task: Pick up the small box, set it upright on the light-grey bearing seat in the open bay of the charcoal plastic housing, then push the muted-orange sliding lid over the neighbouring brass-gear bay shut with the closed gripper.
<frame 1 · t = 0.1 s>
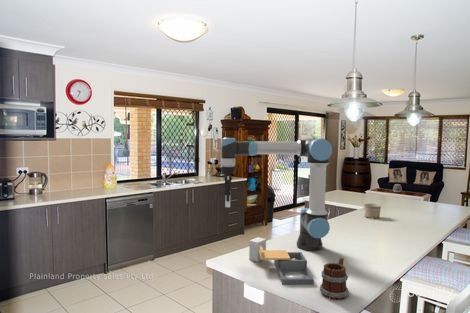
hand: (227, 204, 184), 28 cm above the kitchen island, fingers open, 13 cm apart
planter: (372, 217, 275), on the kitchen island
lid: (274, 252, 166), point 8 cm above the kitchen island, slide at 8.0 cm
small box: (257, 259, 179), on the kitchen island
mug: (334, 293, 141), on the kitchen island
housing: (292, 273, 160), on the kitchen island
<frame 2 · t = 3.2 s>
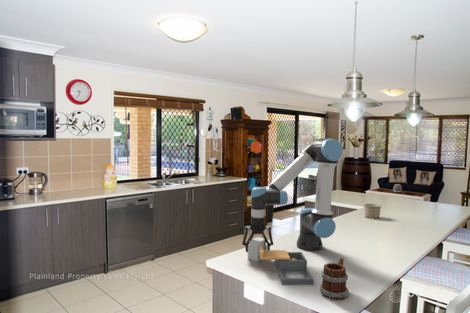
hand: (257, 257, 179), 1 cm above the kitchen island, fingers closed on small box, 9 cm apart
small box: (257, 259, 179), on the kitchen island, touching gripper
everything else where it was.
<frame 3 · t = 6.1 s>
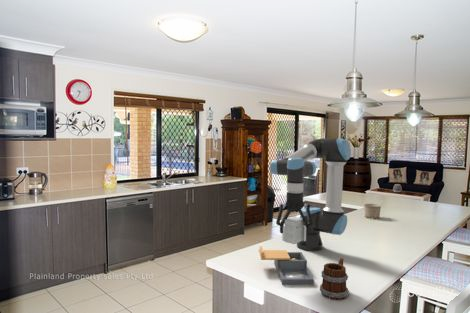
hand: (293, 240, 155), 18 cm above the kitchen island, fingers closed on small box, 9 cm apart
small box: (293, 241, 155), point 17 cm above the kitchen island, touching gripper
everything else where it was.
when the fingers open (3 cm above the kitchen island, at t = 8.9 s): small box drops 2 cm, resting on housing.
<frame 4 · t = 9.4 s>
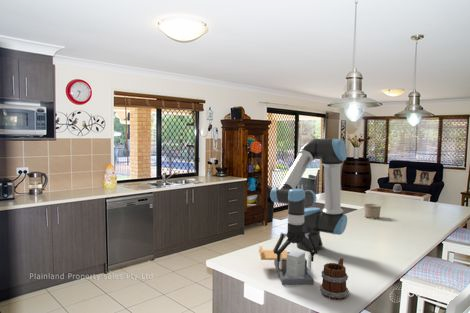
hand: (294, 268, 155), 5 cm above the kitchen island, fingers open, 13 cm apart
small box: (295, 276, 155), point 1 cm above the kitchen island, touching housing
everything else where it was.
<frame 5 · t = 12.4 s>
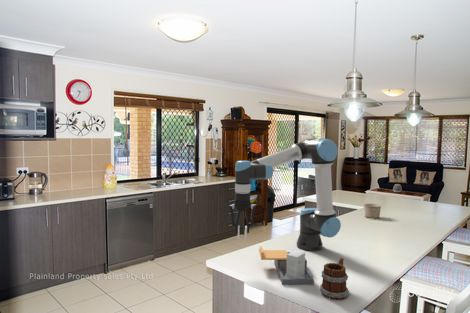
hand: (242, 239, 165), 15 cm above the kitchen island, fingers open, 3 cm apart
nothing on the kitchen island moved.
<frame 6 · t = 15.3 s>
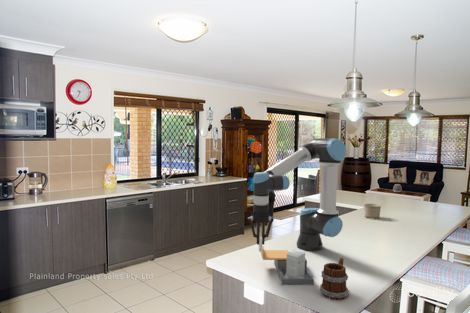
hand: (260, 250, 166), 9 cm above the kitchen island, fingers closed
lid: (275, 252, 166), point 8 cm above the kitchen island, slide at 7.2 cm, touching gripper
everything else where it was.
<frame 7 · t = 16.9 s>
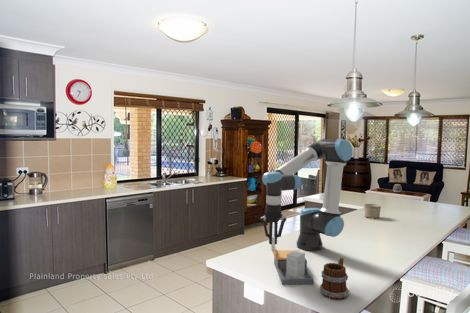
hand: (272, 250, 166), 9 cm above the kitchen island, fingers closed
lid: (288, 252, 166), point 8 cm above the kitchen island, slide at 1.0 cm, touching gripper
everything else where it was.
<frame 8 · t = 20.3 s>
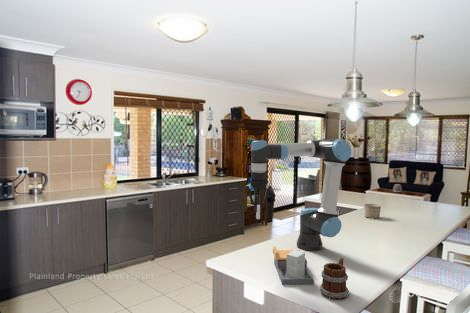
hand: (258, 218, 168), 24 cm above the kitchen island, fingers closed
lid: (288, 252, 166), point 8 cm above the kitchen island, slide at 1.0 cm
everything else where it was.
at the end: small box inside the target area on the housing (0.3 cm from its centre), point 1.0 cm above the housing's base; small box tilted 0°; lid slide at 1.0 cm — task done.
